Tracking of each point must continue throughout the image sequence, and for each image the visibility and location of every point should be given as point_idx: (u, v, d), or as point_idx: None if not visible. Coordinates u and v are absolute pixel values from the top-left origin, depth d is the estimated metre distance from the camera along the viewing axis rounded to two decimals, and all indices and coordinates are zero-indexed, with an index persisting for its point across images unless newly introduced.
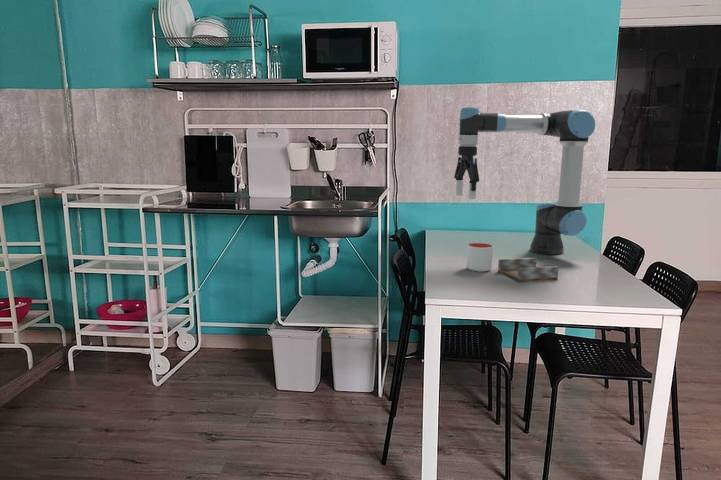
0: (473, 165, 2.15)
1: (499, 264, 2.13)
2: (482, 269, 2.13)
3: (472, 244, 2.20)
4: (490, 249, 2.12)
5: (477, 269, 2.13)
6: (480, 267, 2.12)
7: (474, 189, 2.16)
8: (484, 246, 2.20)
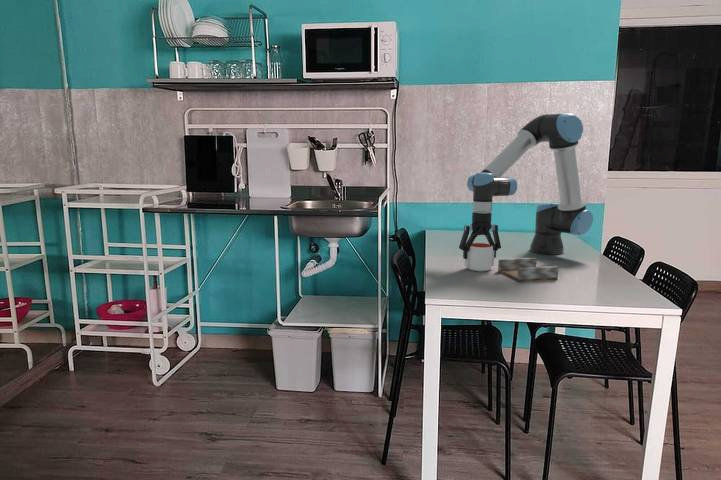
0: (464, 232, 2.13)
1: (499, 264, 2.13)
2: (482, 269, 2.13)
3: (472, 244, 2.20)
4: (490, 249, 2.12)
5: (477, 269, 2.13)
6: (480, 267, 2.12)
7: (464, 257, 2.15)
8: (484, 246, 2.20)
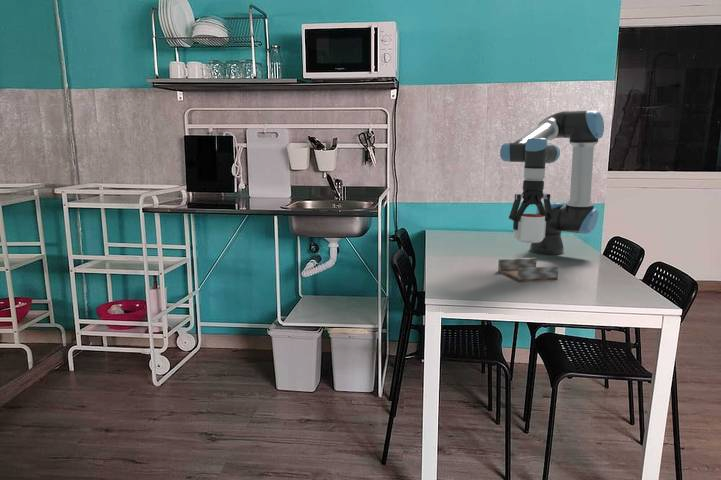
0: (515, 202, 2.02)
1: (499, 264, 2.13)
2: (534, 240, 2.01)
3: (522, 215, 2.08)
4: (542, 219, 2.01)
5: (529, 240, 2.01)
6: (532, 238, 2.01)
7: (514, 228, 2.03)
8: (534, 217, 2.08)
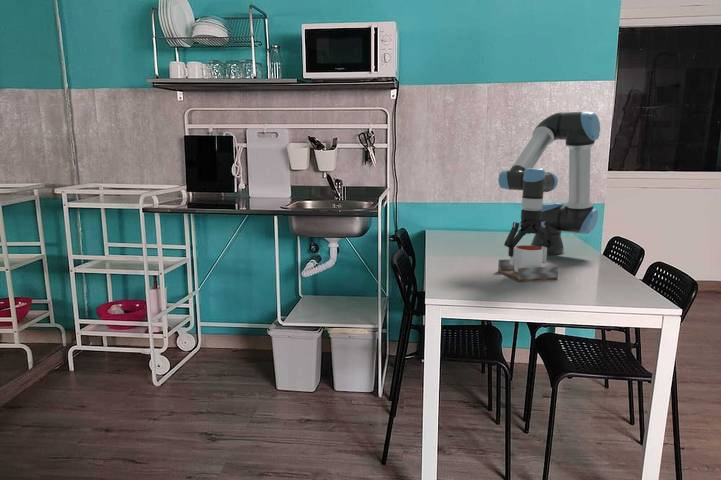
0: (512, 229, 2.04)
1: (499, 264, 2.13)
2: None
3: (520, 246, 2.11)
4: (540, 252, 2.03)
5: None
6: None
7: (509, 254, 2.05)
8: (532, 249, 2.10)
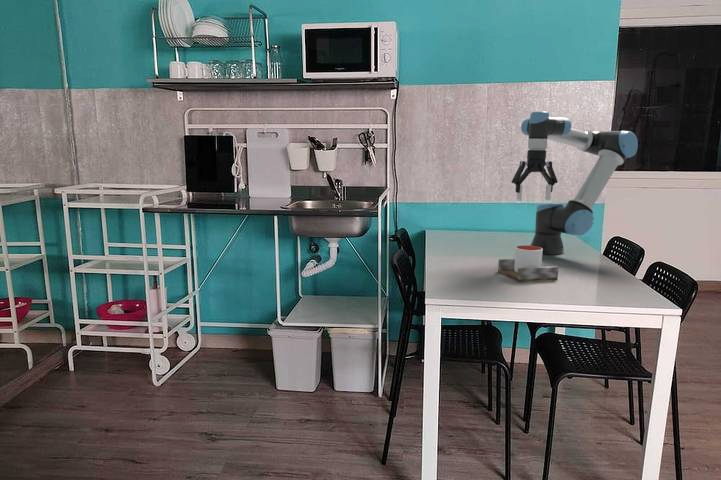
0: (519, 168, 2.24)
1: (499, 264, 2.13)
2: None
3: (520, 246, 2.11)
4: (540, 252, 2.03)
5: None
6: None
7: (516, 191, 2.25)
8: (532, 249, 2.10)
